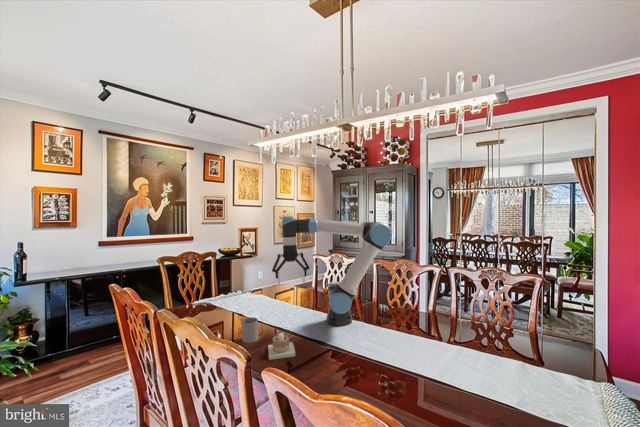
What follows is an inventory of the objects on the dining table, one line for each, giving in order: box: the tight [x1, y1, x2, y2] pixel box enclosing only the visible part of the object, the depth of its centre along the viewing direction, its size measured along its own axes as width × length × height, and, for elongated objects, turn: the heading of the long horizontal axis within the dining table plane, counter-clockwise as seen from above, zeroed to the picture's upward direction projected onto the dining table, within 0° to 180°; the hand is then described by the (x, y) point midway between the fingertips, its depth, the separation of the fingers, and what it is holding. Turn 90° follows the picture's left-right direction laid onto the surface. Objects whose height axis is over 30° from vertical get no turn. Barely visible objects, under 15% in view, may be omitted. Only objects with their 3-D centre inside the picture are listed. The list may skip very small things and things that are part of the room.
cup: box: [240, 316, 259, 344], centre depth 160 cm, size 8×8×10 cm
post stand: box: [267, 332, 296, 361], centre depth 144 cm, size 12×12×8 cm
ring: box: [272, 334, 290, 353], centre depth 144 cm, size 8×8×5 cm
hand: (291, 283), depth 167 cm, fingers open, 13 cm apart
